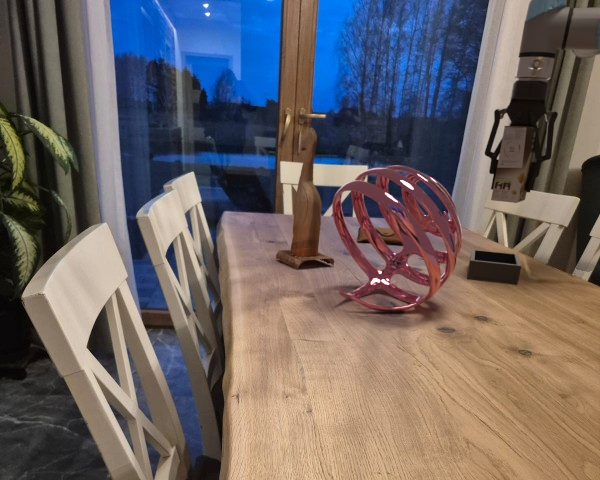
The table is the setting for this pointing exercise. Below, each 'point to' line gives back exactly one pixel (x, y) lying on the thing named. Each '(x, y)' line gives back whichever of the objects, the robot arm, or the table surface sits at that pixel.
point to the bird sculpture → (306, 213)
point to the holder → (494, 266)
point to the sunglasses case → (384, 233)
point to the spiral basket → (400, 234)
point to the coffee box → (514, 164)
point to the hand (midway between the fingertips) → (510, 190)
